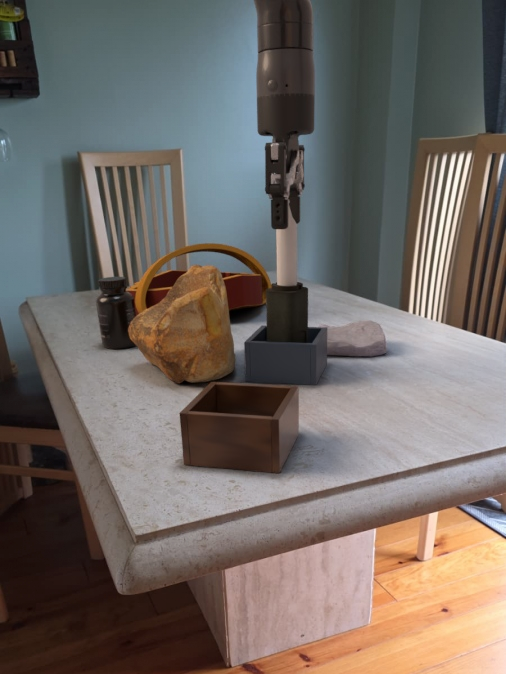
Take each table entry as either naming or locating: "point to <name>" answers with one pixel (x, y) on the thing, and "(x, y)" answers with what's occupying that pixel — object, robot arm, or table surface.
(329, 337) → the stone block
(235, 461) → the crate left
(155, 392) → the table surface
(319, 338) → the crate right
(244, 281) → the decorative basket
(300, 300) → the candle
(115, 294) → the supplement bottle
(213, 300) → the rough brown rock
